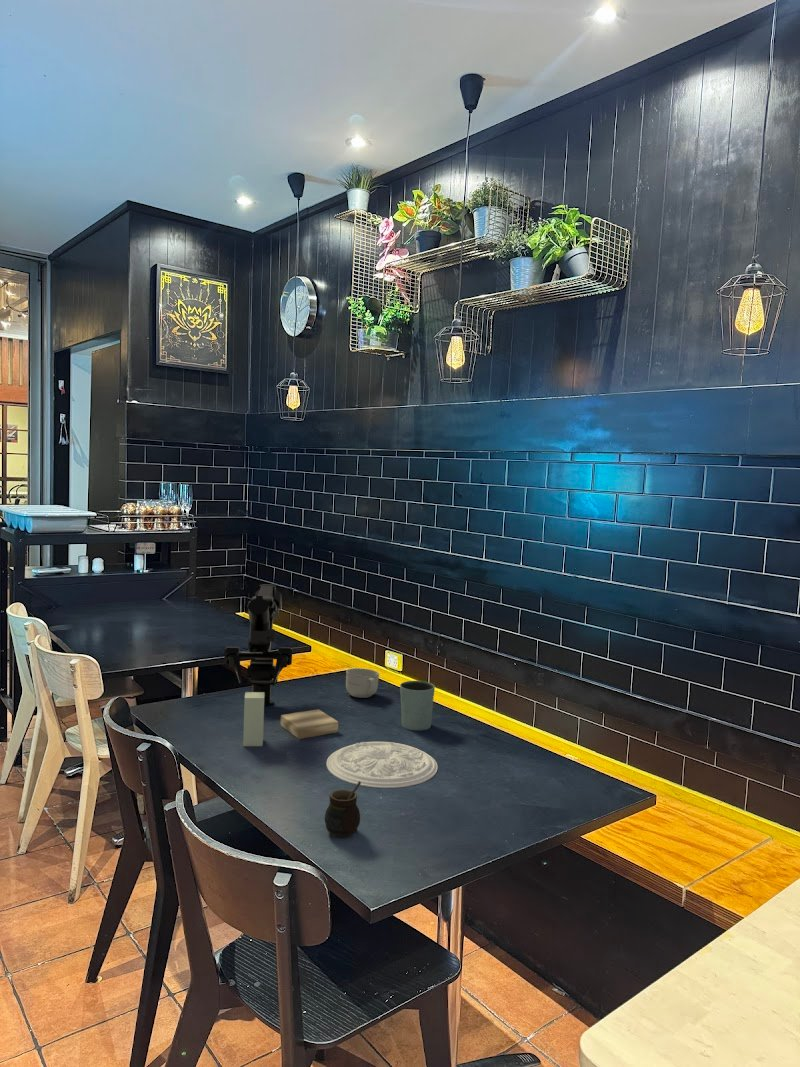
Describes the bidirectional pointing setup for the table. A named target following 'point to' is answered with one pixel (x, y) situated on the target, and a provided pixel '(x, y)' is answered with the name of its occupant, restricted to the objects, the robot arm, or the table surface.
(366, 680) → the teacup
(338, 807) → the mate gourd
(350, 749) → the ceiling medallion
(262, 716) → the sage pillar
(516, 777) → the table surface
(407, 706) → the grey-green cup
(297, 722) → the maple base
